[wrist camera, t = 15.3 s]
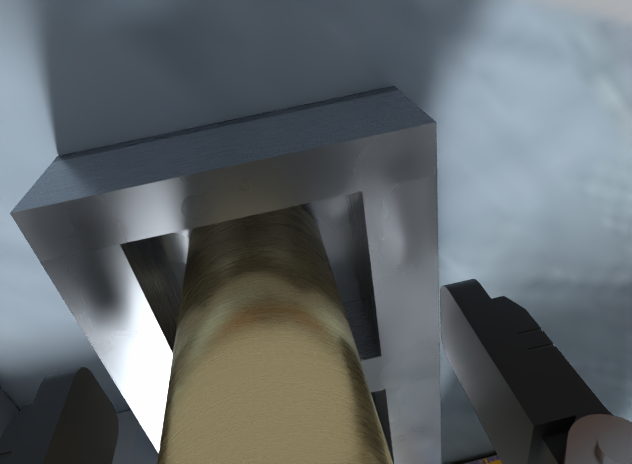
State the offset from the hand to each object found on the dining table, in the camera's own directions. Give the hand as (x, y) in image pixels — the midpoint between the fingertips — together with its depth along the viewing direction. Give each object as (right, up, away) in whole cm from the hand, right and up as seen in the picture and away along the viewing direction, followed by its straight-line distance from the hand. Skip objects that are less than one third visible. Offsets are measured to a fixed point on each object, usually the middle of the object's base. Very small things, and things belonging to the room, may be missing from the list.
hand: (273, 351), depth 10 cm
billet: (-1, +2, +3) cm, 4 cm away
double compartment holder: (0, 0, +6) cm, 6 cm away
